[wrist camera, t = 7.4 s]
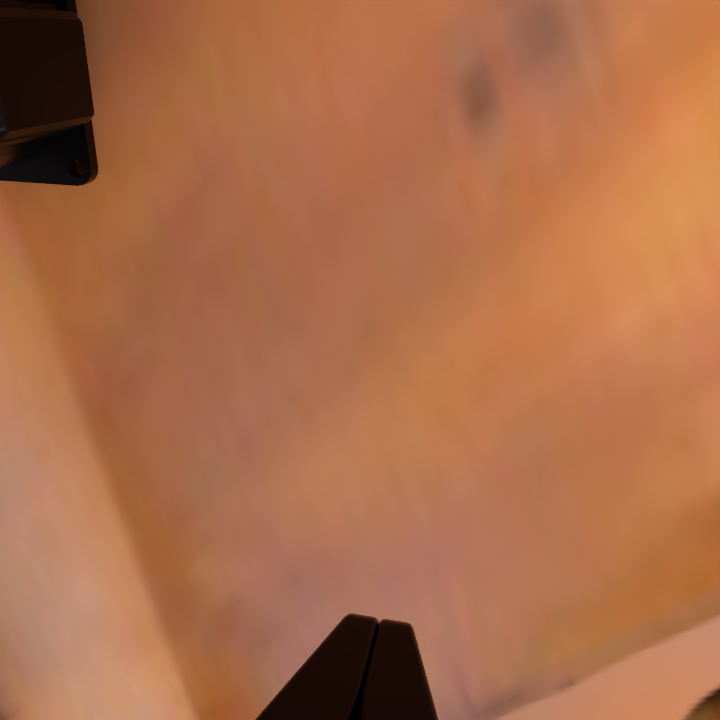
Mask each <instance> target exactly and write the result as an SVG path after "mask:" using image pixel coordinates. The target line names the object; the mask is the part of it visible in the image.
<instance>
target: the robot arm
mask: <svg viewBox="0 0 720 720" xmlns="http://www.w3.org/2000/svg"><path fill="white" fill-rule="evenodd" d="M93 115H94V108H93V101H92V93H91V86H90V79H89V71H88V64H87V56H86V49H85V41H84V34H83V27H82V22H81V20H80V19H79V18H78V17H77V10H76V3H75V0H0V180H2V181H17V182H32V183H46V184H61V185H76V186H79V185H84V184H87V183H90V182H92V181H93V180H94V179H95V178H96V176H97V174H98V164H97V156H96V149H95V142H94V134H93V127H92V120H91V118H92V117H93ZM76 160H77V161H79V162H80V163H81V164H82V167H83V174H80V173H79V172H78V171H77V170H76V168H75V161H76ZM255 720H438V717H437V713H436V710H435V706H434V702H433V699H432V695H431V691H430V688H429V684H428V680H427V677H426V673H425V670H424V666H423V662H422V659H421V655H420V651H419V648H418V644H417V640H416V637H415V633H414V630H413V627H412V626H411V624H409V623H406V622H400V621H394V620H388V619H383V620H381V621H380V623H379V621H378V620H377V619H376V618H375V617H370V616H364V615H358V614H348V615H347V616H345V617H344V618H343V619H342V621H341V622H340V623H339V624H338V625H337V626H336V627H335V629H334V630H333V631H332V632H331V633H330V634H329V635H328V637H327V638H326V639H325V640H324V641H323V642H322V643H321V645H320V646H319V647H318V648H317V649H316V650H315V652H314V653H313V654H312V655H311V656H310V657H309V658H308V660H307V661H306V662H305V663H304V664H303V665H302V666H301V668H300V669H299V670H298V671H297V672H296V673H295V675H294V676H293V677H292V678H291V679H290V680H289V681H288V683H287V684H286V685H285V686H284V687H283V688H282V689H281V691H280V692H279V693H278V694H277V695H276V696H275V697H274V699H273V700H272V701H271V702H270V703H269V704H268V706H267V707H266V708H265V709H264V710H263V711H262V712H261V714H260V715H259V716H258V717H257V718H256V719H255Z"/></svg>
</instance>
